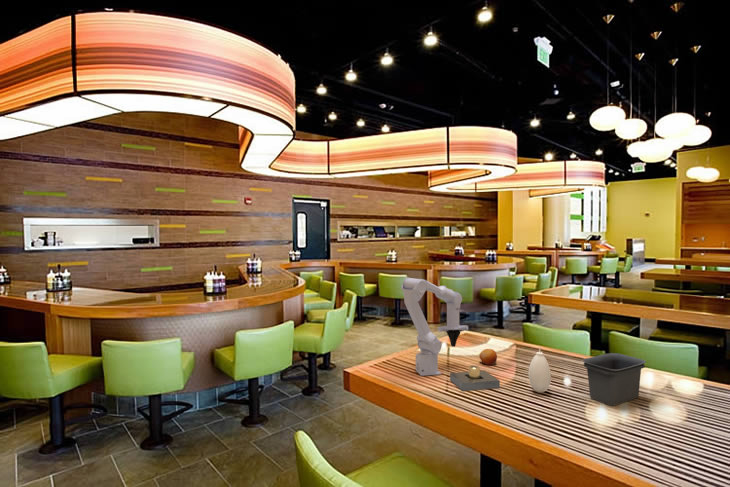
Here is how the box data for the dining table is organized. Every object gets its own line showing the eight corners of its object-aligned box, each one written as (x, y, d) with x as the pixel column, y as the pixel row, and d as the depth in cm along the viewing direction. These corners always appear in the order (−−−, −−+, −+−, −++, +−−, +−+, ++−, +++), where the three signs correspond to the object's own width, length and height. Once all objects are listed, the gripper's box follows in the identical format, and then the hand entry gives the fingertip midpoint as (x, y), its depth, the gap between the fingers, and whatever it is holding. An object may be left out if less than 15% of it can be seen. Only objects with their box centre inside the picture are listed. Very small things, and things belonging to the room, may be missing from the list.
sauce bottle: (553, 396, 147) (553, 349, 147) (531, 395, 149) (531, 348, 149) (547, 388, 155) (547, 343, 155) (526, 387, 156) (526, 342, 156)
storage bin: (614, 411, 135) (614, 370, 135) (573, 395, 149) (573, 357, 149) (650, 399, 144) (650, 361, 144) (608, 385, 158) (608, 350, 158)
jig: (462, 391, 153) (462, 383, 153) (449, 380, 165) (449, 373, 165) (499, 387, 156) (499, 380, 156) (484, 377, 168) (484, 370, 168)
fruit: (503, 363, 183) (494, 348, 183) (488, 371, 183) (480, 357, 183) (497, 357, 191) (489, 343, 191) (484, 366, 191) (475, 352, 191)
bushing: (471, 386, 158) (471, 369, 158) (466, 382, 162) (466, 365, 162) (481, 385, 159) (481, 368, 159) (476, 381, 163) (476, 364, 163)
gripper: (441, 319, 178) (441, 349, 178) (471, 318, 180) (471, 347, 181) (436, 316, 185) (436, 345, 185) (464, 315, 187) (464, 343, 188)
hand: (453, 346), depth 183 cm, fingers closed
